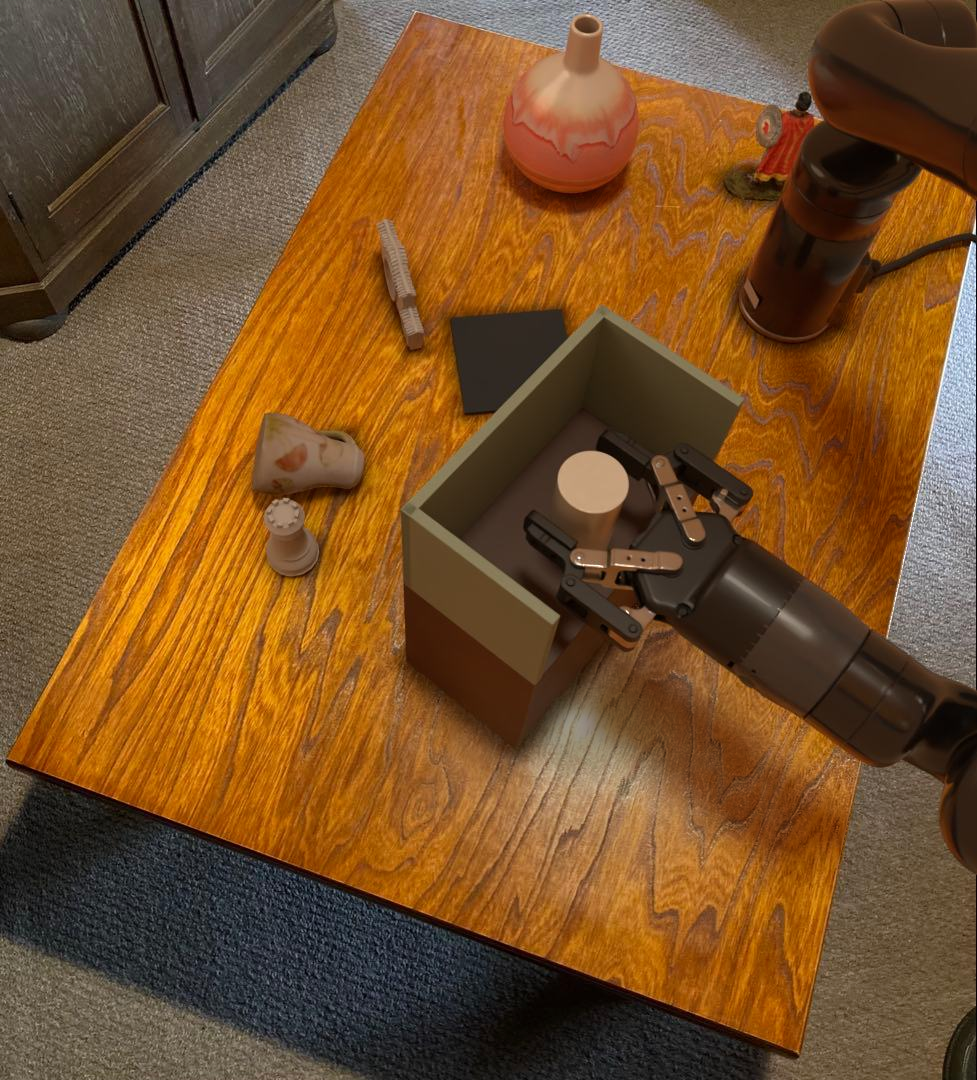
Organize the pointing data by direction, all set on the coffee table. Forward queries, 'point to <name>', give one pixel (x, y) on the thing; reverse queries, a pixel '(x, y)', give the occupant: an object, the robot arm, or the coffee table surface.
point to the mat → (502, 353)
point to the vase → (572, 115)
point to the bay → (528, 484)
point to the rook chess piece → (289, 539)
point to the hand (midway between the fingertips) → (564, 478)
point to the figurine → (773, 151)
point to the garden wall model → (400, 283)
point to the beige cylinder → (589, 498)
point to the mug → (303, 457)
